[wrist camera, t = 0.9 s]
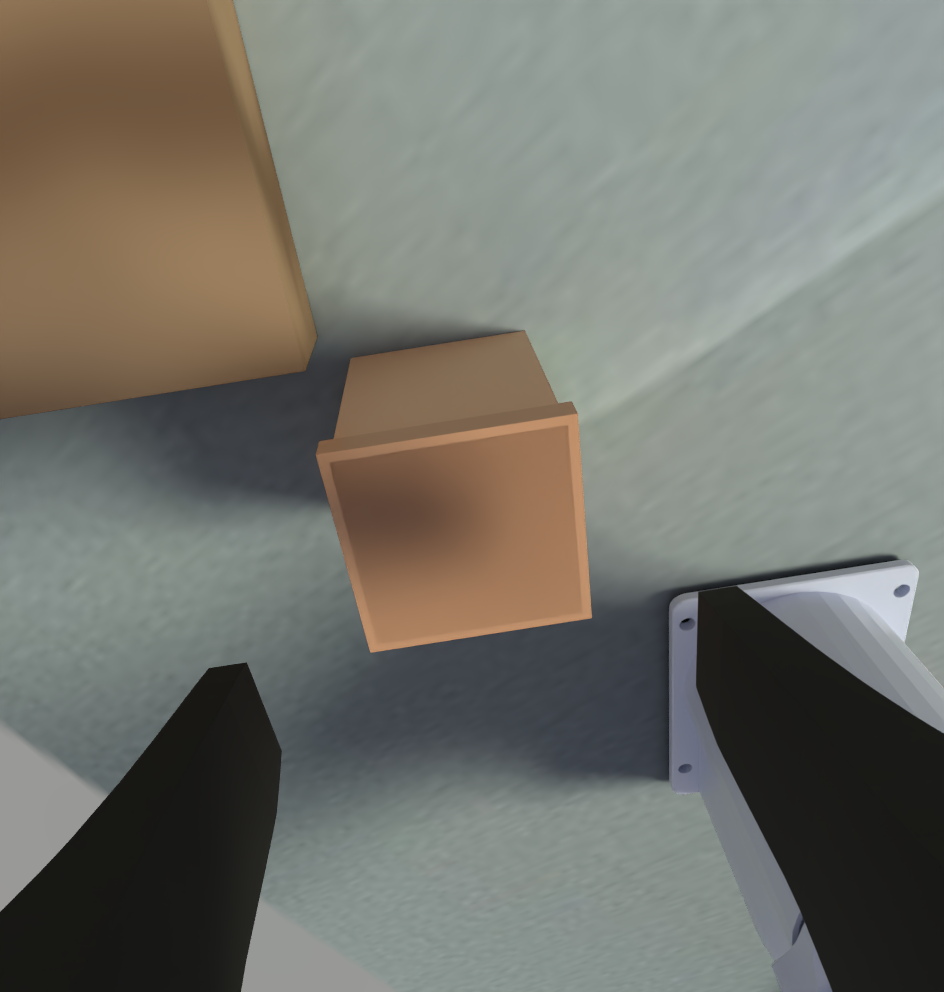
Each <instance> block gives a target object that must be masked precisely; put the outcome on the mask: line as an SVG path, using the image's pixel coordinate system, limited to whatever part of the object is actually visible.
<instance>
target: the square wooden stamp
mask: <svg viewBox="0 0 944 992" xmlns="http://www.w3.org/2000/svg"><path fill="white" fill-rule="evenodd" d="M316 458H317V461H318V465H319V469H320V472H321V476H322V479H323V483H324V487H325V490H326V494H327V498H328V501H329V505H330V508H331V512H332V516H333V519H334V523H335V527H336V530H337V534H338V537H339V541H340V545H341V548H342V552H343V555H344V559H345V563H346V566H347V570H348V574H349V577H350V581H351V584H352V588H353V592H354V595H355V599H356V603H357V606H358V610H359V613H360V617H361V621H362V624H363V628H364V631H365V635H366V639H367V642H368V646H369V650H370V653H372V652H378V651H385V650H391V649H398V648H404V647H410V646H417V645H423V644H430V643H436V642H442V641H449V640H455V639H462V638H468V637H474V636H481V635H487V634H494V633H500V632H506V631H513V630H519V629H526V628H532V627H539V626H545V625H551V624H558V623H564V622H571V621H577V620H583V619H590V618H592V611H591V597H590V582H589V568H588V554H587V539H586V525H585V511H584V496H583V482H582V467H581V453H580V439H579V424H578V413H577V411H576V409H575V407H574V405H573V403H572V401H571V402H565V403H558V402H557V400H556V398H555V395H554V393H553V391H552V389H551V387H550V384H549V382H548V380H547V378H546V376H545V373H544V371H543V369H542V367H541V365H540V363H539V360H538V358H537V356H536V354H535V352H534V349H533V347H532V345H531V343H530V341H529V338H528V336H527V334H526V332H525V331H519V332H513V333H506V334H500V335H494V336H487V337H481V338H475V339H468V340H462V341H456V342H449V343H443V344H437V345H430V346H424V347H418V348H411V349H405V350H399V351H392V352H386V353H380V354H373V355H367V356H361V357H354V358H351V359H350V364H349V369H348V373H347V378H346V383H345V387H344V392H343V397H342V402H341V406H340V411H339V416H338V421H337V425H336V430H335V435H334V439H330V440H323V441H319V444H318V448H317V452H316Z"/></svg>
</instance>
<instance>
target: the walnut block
mask: <svg viewBox="0 0 944 992" xmlns="http://www.w3.org/2000/svg"><path fill="white" fill-rule="evenodd" d="M316 340H317V333H316V329H315V325H314V321H313V317H312V313H311V309H310V305H309V301H308V297H307V293H306V289H305V285H304V281H303V277H302V273H301V269H300V265H299V261H298V257H297V253H296V250H295V246H294V242H293V238H292V234H291V230H290V226H289V222H288V218H287V214H286V210H285V206H284V202H283V198H282V194H281V190H280V186H279V182H278V178H277V174H276V170H275V166H274V162H273V158H272V154H271V150H270V146H269V142H268V138H267V134H266V130H265V126H264V122H263V118H262V114H261V110H260V107H259V103H258V99H257V95H256V91H255V87H254V83H253V79H252V75H251V71H250V67H249V63H248V59H247V55H246V51H245V47H244V43H243V39H242V35H241V31H240V27H239V23H238V19H237V15H236V11H235V7H234V3H233V0H0V419H4V418H11V417H17V416H23V415H30V414H36V413H42V412H49V411H55V410H61V409H68V408H74V407H80V406H87V405H93V404H99V403H106V402H112V401H118V400H125V399H131V398H137V397H144V396H150V395H156V394H162V393H169V392H175V391H181V390H188V389H194V388H200V387H207V386H213V385H219V384H226V383H232V382H238V381H245V380H251V379H257V378H264V377H270V376H276V375H283V374H289V373H295V372H302V371H306V368H307V365H308V362H309V359H310V357H311V354H312V351H313V348H314V345H315V343H316Z"/></svg>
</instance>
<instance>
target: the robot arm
mask: <svg viewBox="0 0 944 992" xmlns="http://www.w3.org/2000/svg"><path fill="white" fill-rule="evenodd" d="M918 577H919V570H918V569H917V568H916V567H915V566H914V565H913V564H912V563H911V562H910V561H908V560H896V561H889V562H883V563H876V564H870V565H864V566H857V567H851V568H844V569H838V570H832V571H825V572H819V573H813V574H806V575H800V576H793V577H787V578H781V579H774V580H768V581H761V582H755V583H749V584H742V585H736V586H729V587H723V588H717V589H710V590H704V591H697V592H691V593H685V594H681V595H678V596H677V597H675V598H674V599H673V600H672V601H671V603H670V606H669V782H670V785H671V787H672V790H673V791H674V792H675V793H678V794H688V793H695V792H700V793H701V796H702V798H703V801H704V803H705V805H706V808H707V810H708V813H709V815H710V818H711V820H712V823H713V825H714V828H715V830H716V832H717V835H718V837H719V840H720V842H721V845H722V847H723V850H724V852H725V855H726V857H727V859H728V862H729V864H730V867H731V869H732V872H733V874H734V877H735V879H736V882H737V884H738V886H739V889H740V891H741V894H742V896H743V899H744V901H745V904H746V906H747V909H748V911H749V913H750V916H751V918H752V921H753V923H754V926H755V928H756V930H757V933H758V934H759V936H760V938H761V940H762V942H763V944H764V946H765V947H766V949H767V951H768V952H769V954H770V955H771V956H772V958H773V959H774V960H775V961H774V962H773V964H772V968H773V971H774V973H775V975H776V978H777V980H778V983H779V985H780V988H781V990H782V992H944V688H943V686H942V685H941V684H940V683H939V682H938V681H937V680H936V678H935V677H934V676H933V675H932V674H931V673H930V672H929V670H928V669H927V668H926V667H925V666H924V665H923V664H922V662H921V661H920V660H919V659H918V658H917V657H916V656H915V655H914V653H913V652H912V651H911V650H910V649H909V648H908V647H907V645H906V644H905V643H904V642H905V638H906V633H907V628H908V624H909V619H910V614H911V610H912V605H913V600H914V596H915V591H916V586H917V582H918ZM900 585H901V586H900ZM898 586H900V587H899V588H898V589H896V588H897V587H898ZM686 618H691V619H690V620H689V621H687V622H685V623H680V622H681V621H683V620H684V619H686ZM281 752H282V751H281V748H280V746H279V743H278V741H277V738H276V736H275V733H274V731H273V728H272V725H271V723H270V720H269V718H268V715H267V713H266V710H265V708H264V705H263V703H262V700H261V698H260V695H259V692H258V690H257V687H256V685H255V682H254V680H253V677H252V675H251V672H250V670H249V667H248V665H247V662H246V663H240V664H234V665H227V666H221V667H214V668H209V669H208V670H207V671H206V673H205V674H204V675H203V676H202V678H201V679H200V680H199V681H198V683H197V684H196V685H195V686H194V688H193V689H192V690H191V692H190V693H189V694H188V696H187V697H186V698H185V699H184V701H183V702H182V703H181V705H180V706H179V707H178V709H177V710H176V711H175V712H174V714H173V715H172V716H171V718H170V719H169V720H168V722H167V723H166V724H165V725H164V727H163V728H162V729H161V731H160V732H159V733H158V735H157V736H156V737H155V738H154V740H153V741H152V742H151V744H150V745H149V746H148V747H147V749H146V750H145V751H144V752H143V754H142V755H141V756H140V757H139V759H138V760H137V761H136V762H135V764H134V765H133V766H132V767H131V769H130V770H129V771H128V772H127V774H126V775H125V776H124V778H123V779H122V780H121V781H120V783H119V784H118V785H117V786H116V787H115V788H114V790H113V791H112V792H111V793H110V794H109V795H108V796H107V798H106V799H105V800H104V801H103V802H102V804H101V805H100V806H99V807H98V808H97V809H96V810H95V812H94V813H93V814H92V815H91V816H90V817H89V819H88V820H87V821H86V822H85V823H84V824H83V826H82V827H81V828H80V829H79V830H78V831H77V833H76V834H75V835H74V836H73V837H72V838H71V839H70V840H69V842H68V843H67V844H66V845H65V846H64V847H63V848H62V849H61V850H60V852H59V853H58V854H57V855H56V856H55V857H54V858H53V859H52V860H51V861H50V862H49V863H48V864H47V865H46V866H45V867H44V868H43V869H42V870H41V872H40V873H39V874H38V875H37V876H36V877H35V878H34V879H33V880H32V881H31V882H30V883H29V884H28V885H27V886H26V887H25V888H24V889H23V890H22V891H21V892H20V893H19V894H18V895H17V896H16V897H15V898H14V899H13V900H12V901H11V902H10V903H9V904H8V905H7V906H6V907H5V908H4V909H3V910H2V911H1V912H0V992H241V987H242V982H243V975H244V970H245V964H246V959H247V954H248V949H249V944H250V939H251V935H252V930H253V925H254V921H255V916H256V911H257V907H258V902H259V897H260V892H261V888H262V883H263V878H264V873H265V869H266V864H267V859H268V854H269V849H270V844H271V839H272V834H273V829H274V824H275V819H276V814H277V803H278V793H279V781H280V766H281Z"/></svg>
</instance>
